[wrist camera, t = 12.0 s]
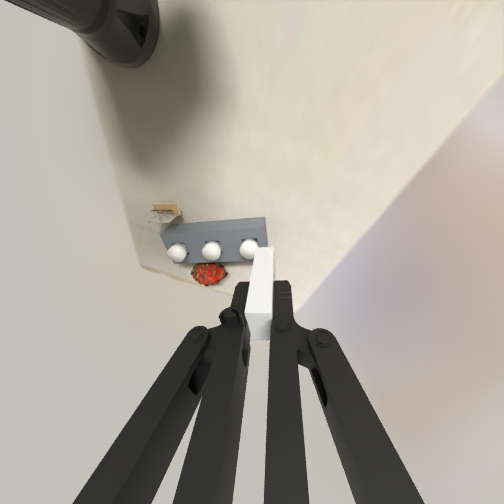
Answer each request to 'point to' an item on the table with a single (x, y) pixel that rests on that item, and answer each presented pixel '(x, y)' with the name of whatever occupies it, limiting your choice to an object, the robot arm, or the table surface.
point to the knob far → (177, 252)
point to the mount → (216, 238)
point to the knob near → (249, 248)
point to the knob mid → (212, 250)
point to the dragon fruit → (208, 273)
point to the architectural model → (165, 212)
